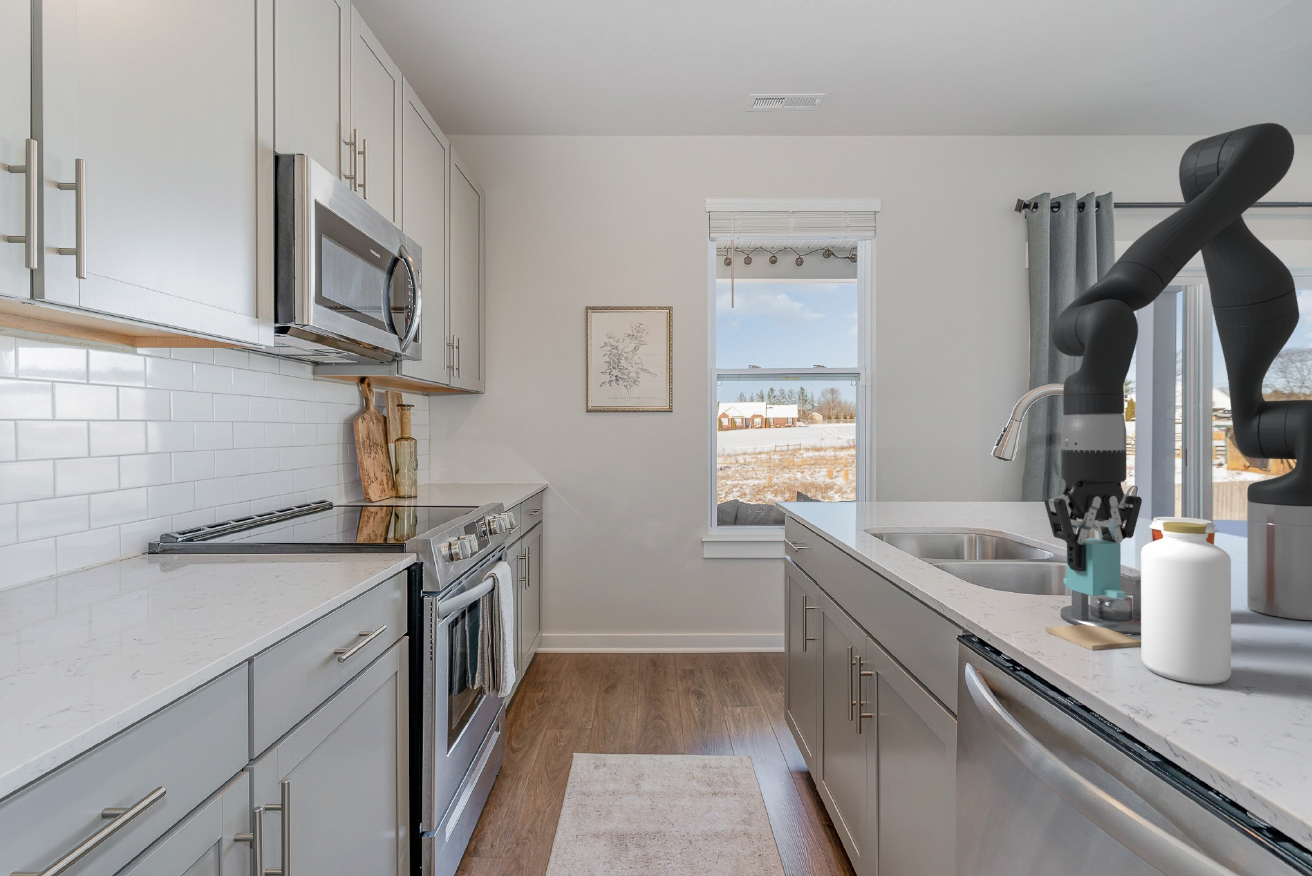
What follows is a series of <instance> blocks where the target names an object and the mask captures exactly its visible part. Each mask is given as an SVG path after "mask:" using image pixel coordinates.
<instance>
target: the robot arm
mask: <svg viewBox="0 0 1312 876" xmlns="http://www.w3.org/2000/svg"><path fill="white" fill-rule="evenodd" d="M1293 139H1294V138H1293V136H1292V134H1291V133H1290V131H1289V130H1288V129H1287V128H1286V127H1285V126H1283V125H1281V124H1279V123H1275V122H1274V123H1273V122H1265V123H1256V124H1251V125H1247V126H1244V127H1241V128H1237V129H1234V130H1230V131H1227V132H1222V133H1220V134H1219V133H1218V134H1216V135H1212V136H1209V137H1205V138H1202V139H1199V140H1197V141H1196V142H1193V143H1192V144H1190V145H1189V146H1188V147H1187V148H1186V150H1185V151H1184V153H1183V154H1182V157H1181V159H1180V163H1179V166H1178V167H1179V168H1178V178H1179V185H1180V187H1179V188H1180V192H1181V195H1182V198H1183V201H1184V204H1185V205H1184V206H1183V207H1181V208H1180V209H1178V210H1176V211H1175V212H1174V213H1173V214H1171V215H1169V216H1168V217H1166V218H1165V219H1163V220H1162V221H1160V222H1159V223H1157V224H1155V225H1154V226H1152V227H1151V228H1150V229H1149V230H1147V231H1146V232H1144V233H1143V234H1142V235H1140V236H1139V237H1138V238H1137V239H1136V240H1135V241H1134V242H1133V243H1132V244H1131V245H1130V246H1128V248H1127V249H1126V250H1125V251H1124V252H1123V254H1122V255H1121V256H1120V257H1119V258H1118V260H1116V262H1115V263H1114V264H1113V265H1112V266H1111V268H1110V269H1109V270H1107V272H1106V274H1105V275H1104V276H1103V277H1101V279H1099V280H1098V281H1097V282H1095V283H1094V284H1093V285H1091V286H1090V287H1089V288H1087V290H1085V291H1084V292H1083V293H1082V294H1081V295H1079V296H1078V297H1077V298H1076V299H1074V300H1073V301H1072V302H1071V303H1070V304H1069V305H1068V306H1067V307H1065V309H1063V311H1062V312H1061V313H1060V314H1059V315H1058V317H1057V319H1056V320H1055V322H1054V325H1053V328H1052V332H1051V337H1052V342H1053V345H1054V347H1055V348H1056V349H1057V350H1058V351H1059V352H1060V353H1062V354H1063V355H1066V356H1070V357H1078V358H1079V357H1082V361H1081V365H1080V368H1079V369H1078V370H1077V371H1076V372H1074V373H1072V374H1070V375H1069V376H1067V378H1066V379H1065V381H1064V384H1063V393H1062V394H1063V401H1062V402H1063V406H1062V407H1063V409H1062V410H1063V412H1062V413H1063V416H1062V426H1061V439H1060V440H1061V443H1060V444H1061V446H1060V449H1061V452H1060V453H1061V454H1060V455H1061V459H1060V461H1061V471H1060V473H1061V475H1060V476H1061V479H1062V480H1064V482H1065V487H1064V489H1063V491H1062V494H1061V495H1058V496H1056V497H1051V496H1047V497H1045V498H1044V505H1045V506H1044V507H1045V510H1046V513H1047V518H1048V520H1049V524H1050V529H1051V531H1052V535H1053V537H1054V538H1056V539H1059V540H1062V541H1065V543H1066V564H1067V563H1068V565H1069V567H1070V569H1072V570H1075V571H1079V572H1082V571H1085V570H1086V545H1083V544H1085V542H1086V538H1087V537H1088V534H1089V531H1090V530H1092V529H1093V527H1094V525H1095V526H1096V527H1097V529H1098V533H1099V536H1100V539H1101V540H1106V541H1111V542H1117V543H1122V542H1123V540H1125V539H1126V538H1127V539H1132V538H1133V536H1134V534H1135V531H1136V526H1137V522H1138V519H1139V515H1140V511H1141V506H1142V501H1143V500H1142V498H1141V496H1137V495H1128V494H1126V493H1124V490H1123V487H1122V483H1123V482H1125V481H1126V480H1127V427H1126V420H1125V389H1124V386H1125V382H1126V378H1127V376H1128V373H1129V370H1130V367H1131V363H1132V359H1133V356H1134V353H1135V352H1134V351H1135V349H1136V346H1137V341H1138V336H1139V335H1138V334H1139V324H1138V319H1137V316H1136V314H1135V312H1136V311H1139V310H1141V309H1143V308H1145V307H1147V306H1149V305H1150V304H1152V303H1153V302H1154V301H1155V300H1156V299H1157V298H1158V297H1159V296H1160V294H1161V293H1162V292H1163V291H1164V290H1165V289H1166V288H1167V286H1168V285H1169V284H1170V283H1171V282H1172V281H1173V280H1174V278H1175V277H1176V276H1177V275H1179V273H1180V272H1181V270H1183V268H1184V267H1185V266H1186V265H1187V264H1188V263H1189V262H1190V261H1191V260H1192V258H1194V257H1195V255H1197V254H1198V253H1199V252H1200V253H1201V257H1202V260H1203V265H1204V269H1205V273H1206V278H1207V282H1208V287H1209V293H1210V302H1211V307H1212V311H1213V315H1214V320H1215V325H1216V330H1217V333H1218V337H1219V341H1220V345H1221V350H1222V353H1223V358H1224V364H1225V369H1226V374H1227V381H1228V391H1229V400H1230V412H1231V423H1232V431H1233V436H1234V440H1235V441H1234V442H1236V446H1237V448H1238V450H1239V451H1240V453H1241V454H1242V455H1243V456H1245V457H1247V458H1250V459H1251V458H1252V459H1263V460H1265V459H1266V460H1267V459H1269V460H1270V459H1271V460H1296V462H1295V466H1294V468H1293V469H1292V470H1290V471H1289V472H1287V473H1285V474H1282V475H1280V476H1277V477H1274V478H1270V479H1264V480H1259V481H1255V482H1252V483H1250V484H1249V485H1248V486H1247V492H1246V493H1247V494H1246V495H1247V496H1246V498H1247V499H1246V500H1247V506H1246V508H1247V514H1246V515H1247V516H1246V517H1247V519H1246V520H1247V523H1246V524H1247V531H1246V532H1247V536H1246V538H1247V539H1246V541H1247V543H1246V544H1247V547H1246V548H1247V561H1246V562H1247V568H1246V569H1247V581H1246V583H1247V584H1246V587H1247V597H1246V598H1247V609H1250V610H1252V611H1255V612H1257V613H1260V614H1264V615H1268V616H1274V617H1277V618H1285V619H1292V620H1302V621H1303V620H1305V621H1312V399H1297V400H1296V399H1290V400H1289V399H1288V400H1265V399H1264V397H1263V383H1264V378H1265V376H1266V374H1267V373H1268V370H1269V369H1270V367H1271V365H1272V363H1273V362H1274V360H1276V357H1278V355H1279V354H1280V353H1281V351H1282V349H1283V348H1284V346H1286V344H1287V343H1288V341H1289V339H1290V338H1291V337H1292V335H1293V333H1294V331H1295V329H1296V328H1297V326H1298V323H1299V320H1300V310H1299V302H1298V296H1297V291H1296V285H1295V281H1294V277H1293V275H1292V273H1291V271H1290V269H1289V268H1288V267H1287V266H1286V265H1285V263H1284V262H1283V261H1282V260H1281V259H1280V258H1279V257H1278V256H1277V255H1276V254H1275V253H1274V252H1273V251H1272V250H1271V249H1269V248H1268V247H1267V245H1265V244H1264V243H1263V242H1262V241H1260V239H1259V238H1257V236H1255V235H1254V233H1253V232H1252V231H1251V229H1249V228H1248V226H1247V223H1245V222H1246V221H1244V217H1243V215H1242V214H1243V213H1245V212H1246V211H1247V210H1248V209H1250V208H1251V207H1252V206H1253V205H1255V204H1256V203H1257V202H1258V201H1260V200H1261V199H1262V198H1263V197H1264V196H1266V195H1268V193H1269V192H1271V190H1273V189H1274V188H1275V187H1276V186H1277V185H1278V184H1279V183H1280V182H1281V181H1282V180H1283V179H1284V177H1285V176H1286V174H1287V173H1288V171H1289V170H1290V168H1291V166H1292V163H1293V160H1294V156H1295V143H1294V140H1293ZM1125 521H1126V522H1125ZM1124 522H1125V525H1124ZM1123 526H1124V528H1123Z"/></svg>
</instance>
